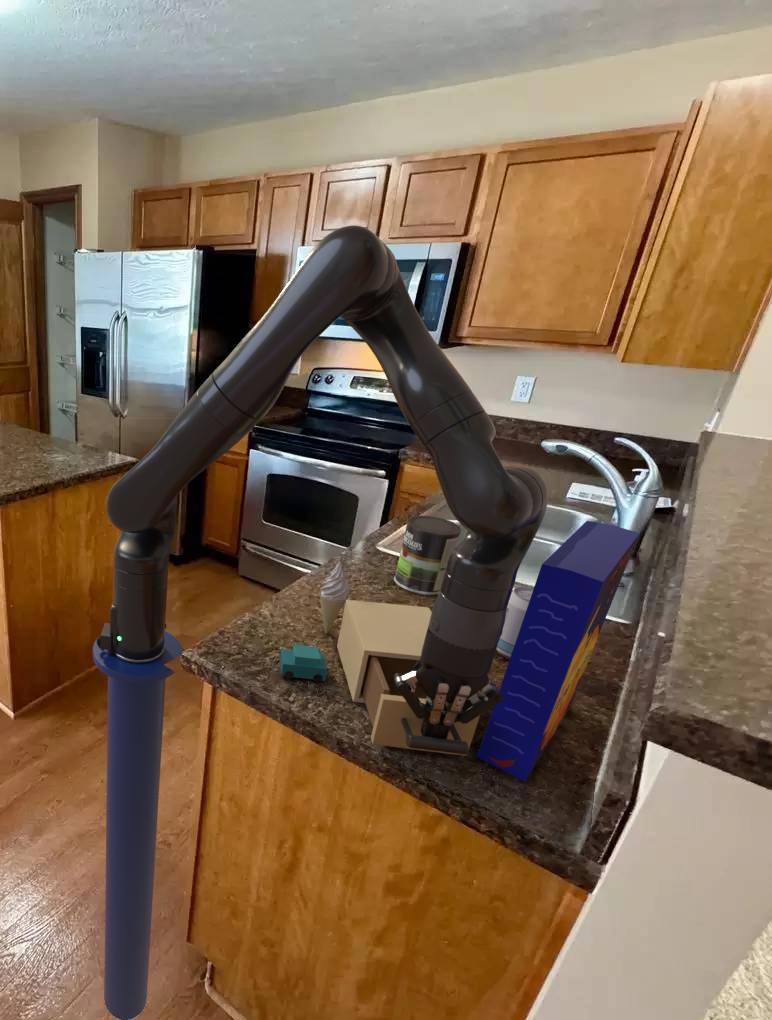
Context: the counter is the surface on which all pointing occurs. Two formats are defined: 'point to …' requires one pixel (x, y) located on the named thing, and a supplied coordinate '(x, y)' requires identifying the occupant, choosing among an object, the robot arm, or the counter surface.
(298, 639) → the counter surface
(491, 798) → the counter surface
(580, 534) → the cereal box
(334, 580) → the ice cream cone
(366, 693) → the drawer
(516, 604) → the beverage can
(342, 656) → the cabinet
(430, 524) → the coffee can
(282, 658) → the toy car
